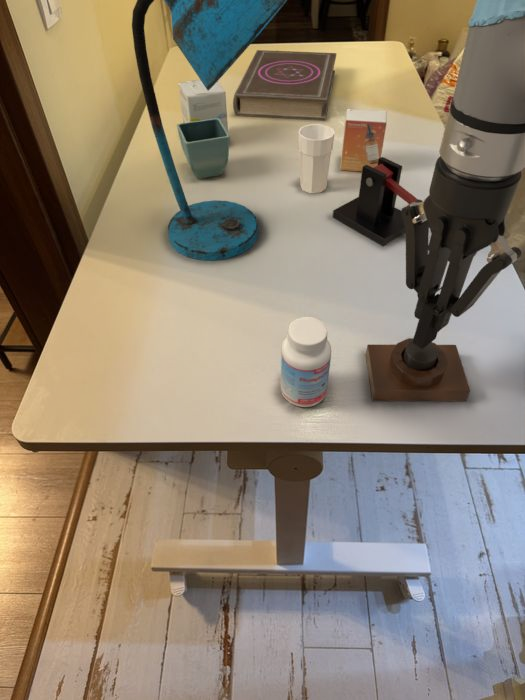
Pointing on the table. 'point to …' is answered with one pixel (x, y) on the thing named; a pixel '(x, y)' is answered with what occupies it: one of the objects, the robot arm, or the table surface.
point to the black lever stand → (374, 206)
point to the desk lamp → (210, 65)
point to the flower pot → (205, 146)
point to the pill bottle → (305, 362)
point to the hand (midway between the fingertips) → (424, 340)
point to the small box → (362, 139)
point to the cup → (315, 156)
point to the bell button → (420, 356)
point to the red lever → (396, 185)
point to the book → (286, 85)
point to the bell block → (415, 375)
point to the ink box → (202, 102)
